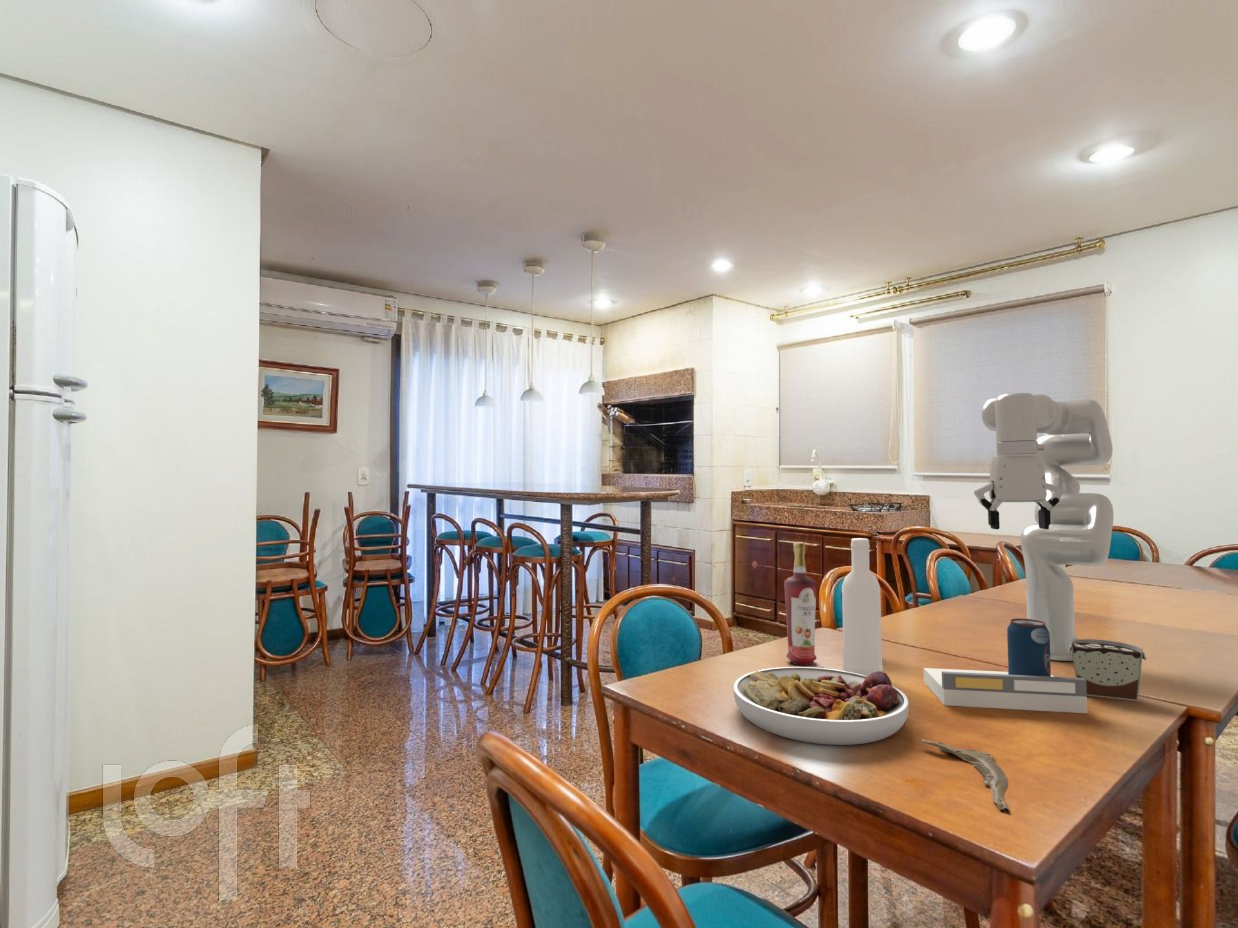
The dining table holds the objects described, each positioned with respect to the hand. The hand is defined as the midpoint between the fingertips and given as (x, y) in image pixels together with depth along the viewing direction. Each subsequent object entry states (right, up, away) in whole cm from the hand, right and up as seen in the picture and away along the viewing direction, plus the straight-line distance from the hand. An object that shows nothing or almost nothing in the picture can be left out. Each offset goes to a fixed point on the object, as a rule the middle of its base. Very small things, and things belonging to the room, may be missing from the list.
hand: (1019, 528), depth 137 cm
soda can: (-8, -29, -15) cm, 33 cm away
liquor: (-44, -33, +11) cm, 56 cm away
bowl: (-51, -32, -23) cm, 65 cm away
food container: (+9, -32, -12) cm, 35 cm away
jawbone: (-38, -32, -46) cm, 68 cm away
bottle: (-34, -32, -1) cm, 47 cm away
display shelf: (-12, -32, -13) cm, 37 cm away
